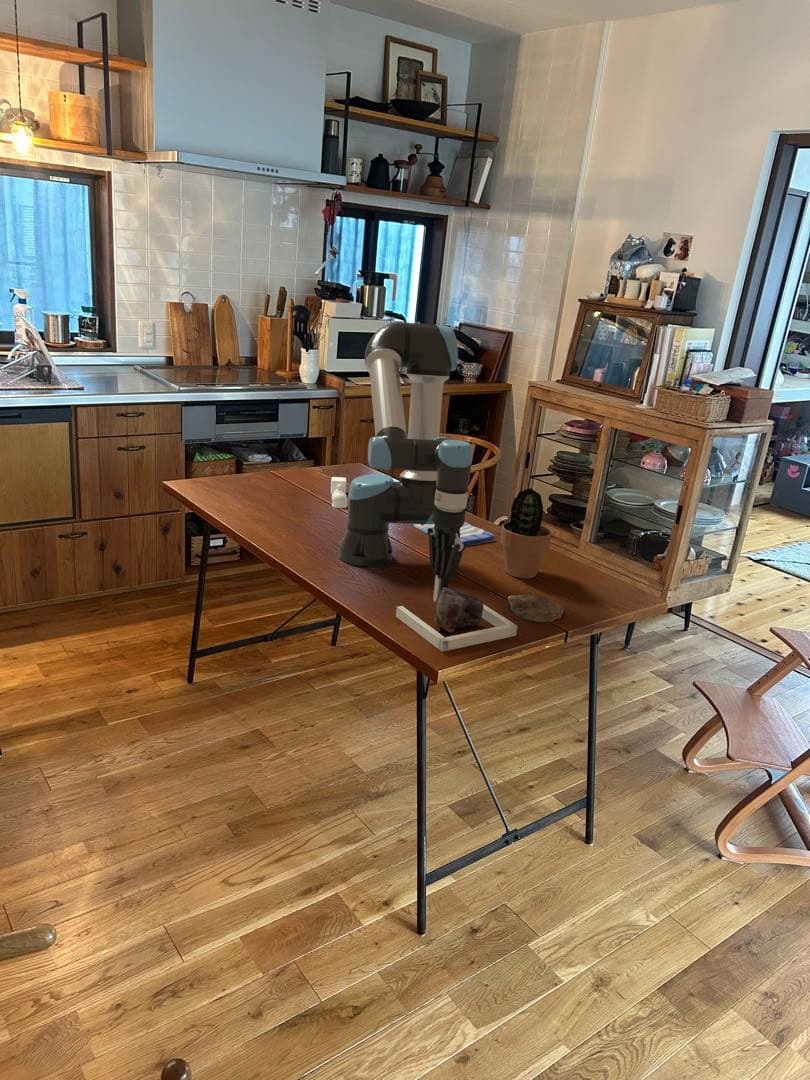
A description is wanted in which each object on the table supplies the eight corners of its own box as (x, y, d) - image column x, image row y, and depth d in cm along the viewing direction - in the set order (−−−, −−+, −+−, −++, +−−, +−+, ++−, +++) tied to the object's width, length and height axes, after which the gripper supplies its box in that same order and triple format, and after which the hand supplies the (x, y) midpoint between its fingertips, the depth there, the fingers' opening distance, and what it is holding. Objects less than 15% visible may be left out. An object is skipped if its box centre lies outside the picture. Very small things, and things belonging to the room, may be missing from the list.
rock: (482, 635, 192) (459, 616, 200) (493, 600, 189) (468, 582, 198) (439, 635, 185) (417, 615, 194) (449, 599, 183) (426, 581, 191)
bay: (395, 616, 194) (396, 606, 194) (466, 603, 205) (467, 594, 204) (441, 651, 179) (443, 641, 178) (515, 635, 190) (517, 625, 189)
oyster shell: (568, 625, 199) (572, 603, 197) (509, 620, 198) (512, 598, 197) (561, 607, 209) (564, 586, 207) (504, 601, 209) (507, 580, 207)
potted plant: (554, 575, 229) (568, 490, 221) (524, 585, 220) (538, 497, 212) (516, 560, 238) (528, 477, 230) (486, 569, 229) (497, 484, 221)
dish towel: (450, 520, 271) (451, 512, 270) (496, 542, 253) (497, 534, 253) (407, 526, 261) (408, 517, 261) (453, 550, 244) (454, 541, 243)
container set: (330, 491, 290) (331, 476, 288) (345, 492, 290) (346, 477, 289) (332, 508, 271) (332, 492, 269) (347, 509, 272) (348, 493, 270)
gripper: (421, 500, 192) (411, 592, 200) (452, 517, 182) (441, 613, 190) (447, 498, 196) (437, 588, 204) (479, 514, 186) (467, 609, 193)
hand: (439, 600), depth 197 cm, fingers closed
